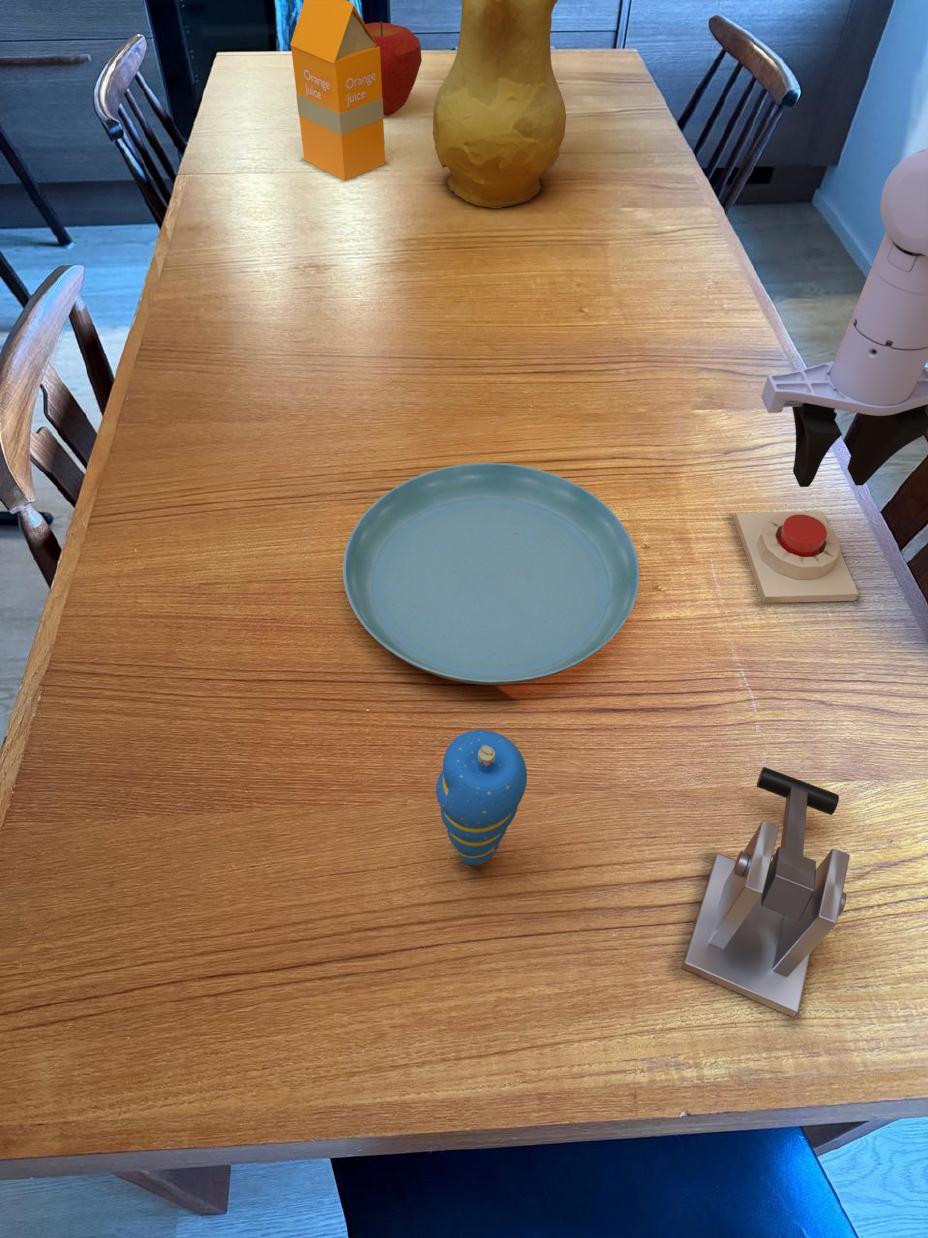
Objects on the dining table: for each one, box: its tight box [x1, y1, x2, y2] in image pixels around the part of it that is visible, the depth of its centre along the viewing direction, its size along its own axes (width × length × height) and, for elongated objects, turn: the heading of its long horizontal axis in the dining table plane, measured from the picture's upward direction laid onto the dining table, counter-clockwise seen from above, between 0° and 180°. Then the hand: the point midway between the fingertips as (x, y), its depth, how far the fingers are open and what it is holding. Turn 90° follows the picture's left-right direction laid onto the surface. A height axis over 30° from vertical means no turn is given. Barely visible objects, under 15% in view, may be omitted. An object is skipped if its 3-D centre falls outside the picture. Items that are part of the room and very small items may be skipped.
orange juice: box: [289, 0, 386, 182], centre depth 118 cm, size 8×9×20 cm
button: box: [779, 514, 827, 557], centre depth 76 cm, size 4×4×2 cm
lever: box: [756, 766, 840, 921], centre depth 55 cm, size 12×5×2 cm, turn 156°
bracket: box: [681, 820, 851, 1018], centre depth 54 cm, size 8×7×10 cm
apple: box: [365, 20, 423, 117], centre depth 132 cm, size 11×11×12 cm
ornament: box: [435, 729, 528, 866], centre depth 54 cm, size 5×5×15 cm
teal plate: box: [342, 462, 640, 686], centre depth 74 cm, size 24×24×3 cm
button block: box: [733, 510, 860, 604], centre depth 77 cm, size 10×8×2 cm
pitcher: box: [432, 0, 567, 209], centre depth 113 cm, size 17×19×25 cm
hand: (828, 477), depth 71 cm, fingers open, 4 cm apart
